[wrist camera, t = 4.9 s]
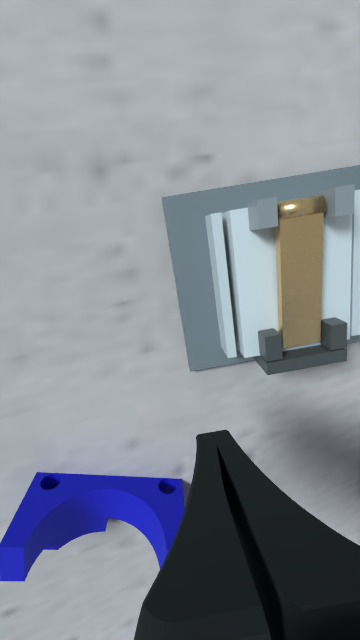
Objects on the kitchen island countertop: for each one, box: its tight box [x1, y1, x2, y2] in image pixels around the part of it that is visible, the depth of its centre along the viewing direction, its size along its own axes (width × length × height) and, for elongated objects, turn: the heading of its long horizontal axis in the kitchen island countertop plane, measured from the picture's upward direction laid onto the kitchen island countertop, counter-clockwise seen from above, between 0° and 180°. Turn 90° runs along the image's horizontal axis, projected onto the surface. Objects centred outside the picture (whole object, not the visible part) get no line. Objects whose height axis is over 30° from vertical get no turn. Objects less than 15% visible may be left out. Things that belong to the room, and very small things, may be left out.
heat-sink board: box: [162, 165, 360, 375], centre depth 18 cm, size 14×12×5 cm
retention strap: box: [275, 195, 326, 348], centre depth 16 cm, size 2×8×1 cm, turn 9°
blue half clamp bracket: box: [0, 472, 185, 581], centre depth 22 cm, size 12×4×6 cm, turn 82°
